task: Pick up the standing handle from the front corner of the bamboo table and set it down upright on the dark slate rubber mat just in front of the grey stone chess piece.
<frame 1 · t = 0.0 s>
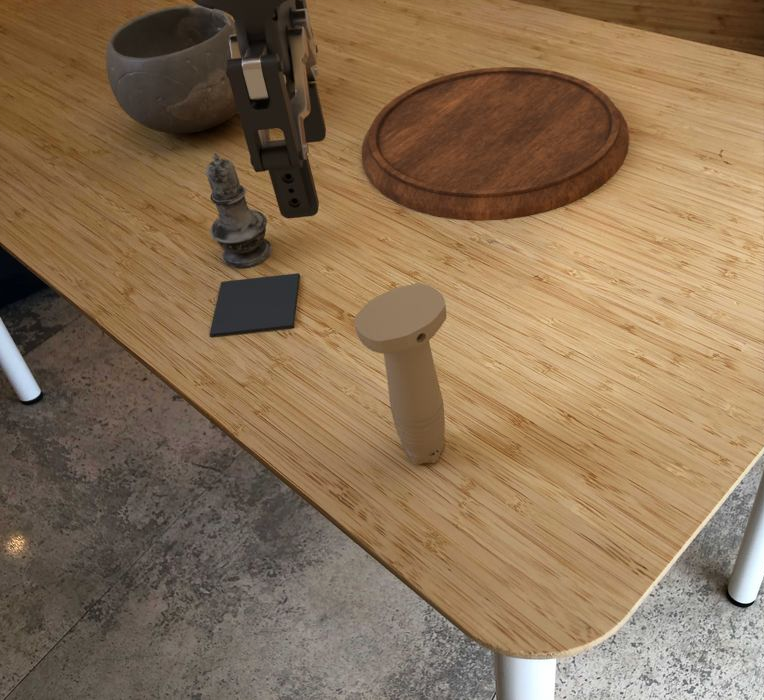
hand: (306, 174, 52), 25 cm above the table, tool pointing down, fingers open, 8 cm apart
bowl: (200, 122, 113), on the table
handle: (425, 453, 68), on the table
grey stone chess piece: (247, 254, 90), on the table
cutting board: (494, 144, 102), on the table
place mat: (256, 305, 84), on the table
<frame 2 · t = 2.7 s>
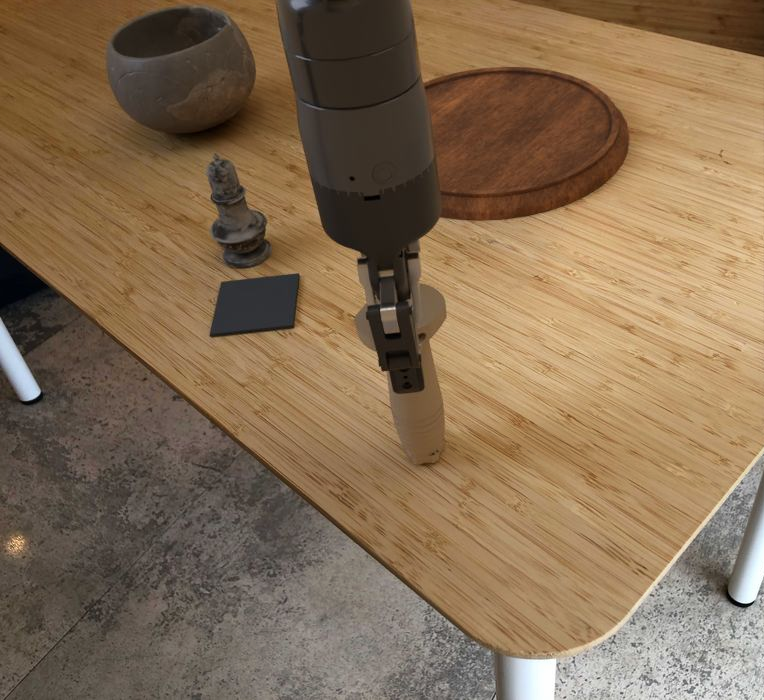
hand: (408, 358, 61), 11 cm above the table, tool pointing down, fingers closed on handle, 5 cm apart
handle: (425, 453, 68), on the table, touching gripper
everything else where it was.
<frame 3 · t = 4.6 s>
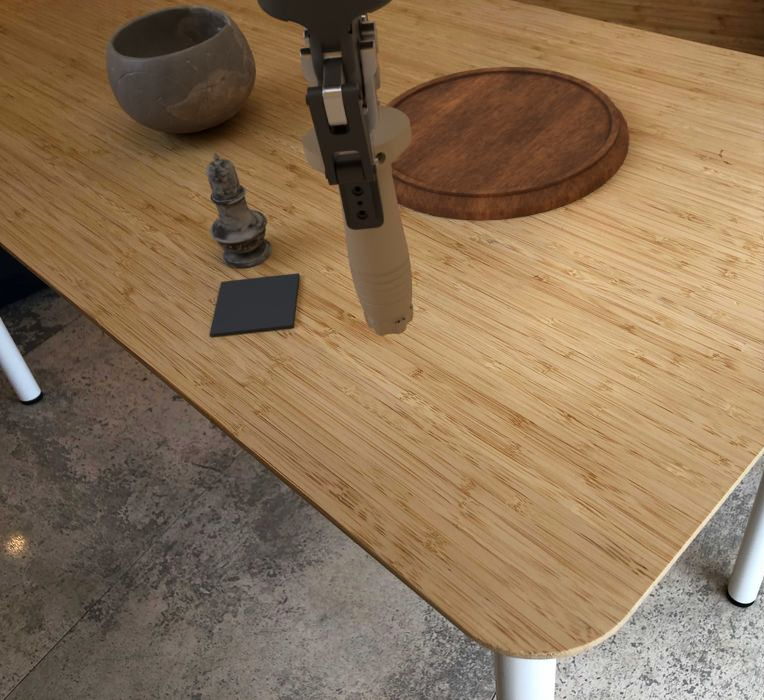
hand: (367, 195, 52), 24 cm above the table, tool pointing down, fingers closed on handle, 5 cm apart
handle: (391, 325, 60), point 13 cm above the table, touching gripper
everything else where it was.
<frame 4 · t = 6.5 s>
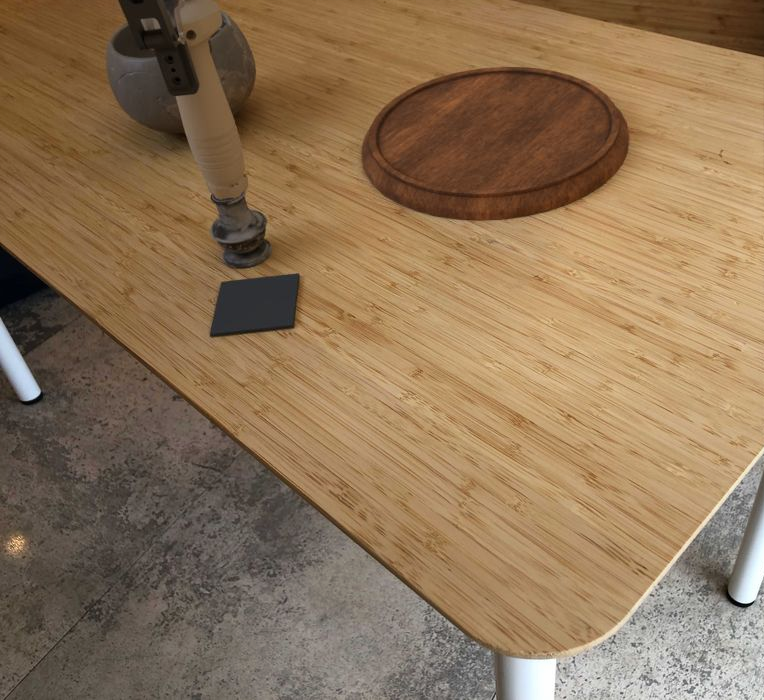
hand: (192, 73, 65), 25 cm above the table, tool pointing down, fingers closed on handle, 5 cm apart
handle: (231, 193, 72), point 14 cm above the table, touching gripper
everything else where it was.
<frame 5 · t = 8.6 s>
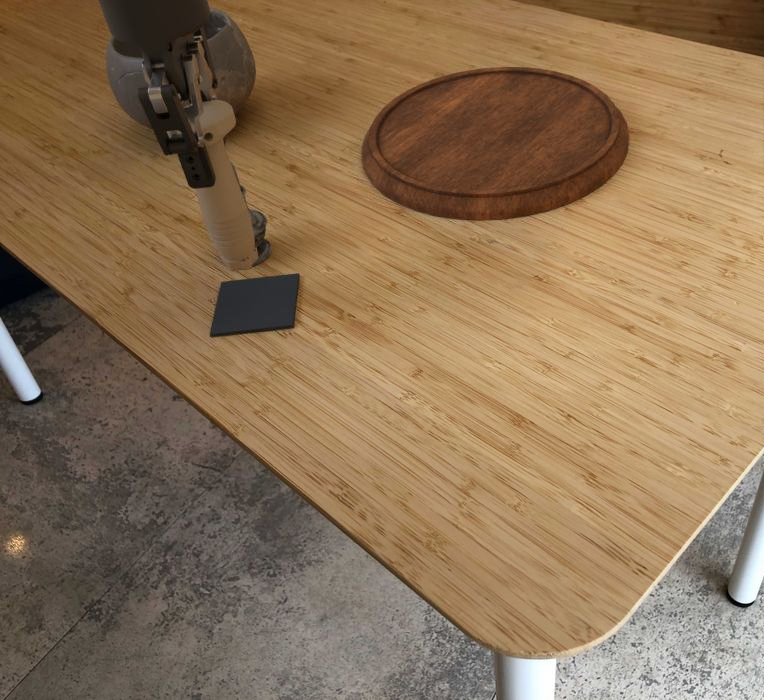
hand: (209, 165, 73), 16 cm above the table, tool pointing down, fingers closed on handle, 5 cm apart
handle: (242, 264, 80), point 5 cm above the table, touching gripper
everything else where it was.
when the fingers open (11 cm above the table, at t = 10.3 s): handle stays where it is, resting on place mat.
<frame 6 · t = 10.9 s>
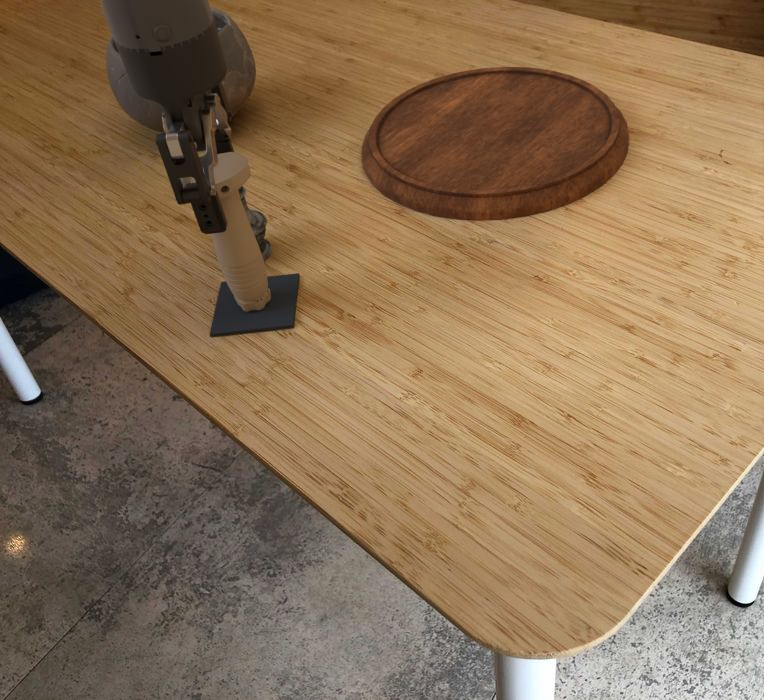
hand: (222, 203, 75), 12 cm above the table, tool pointing down, fingers open, 8 cm apart
handle: (255, 304, 83), resting on place mat
everything else where it was.
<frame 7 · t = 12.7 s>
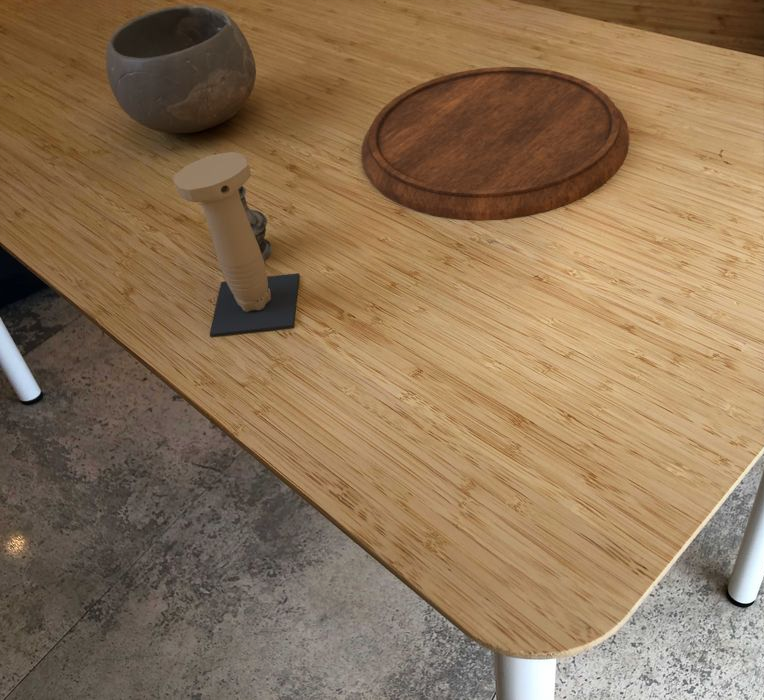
nothing on the table moved.
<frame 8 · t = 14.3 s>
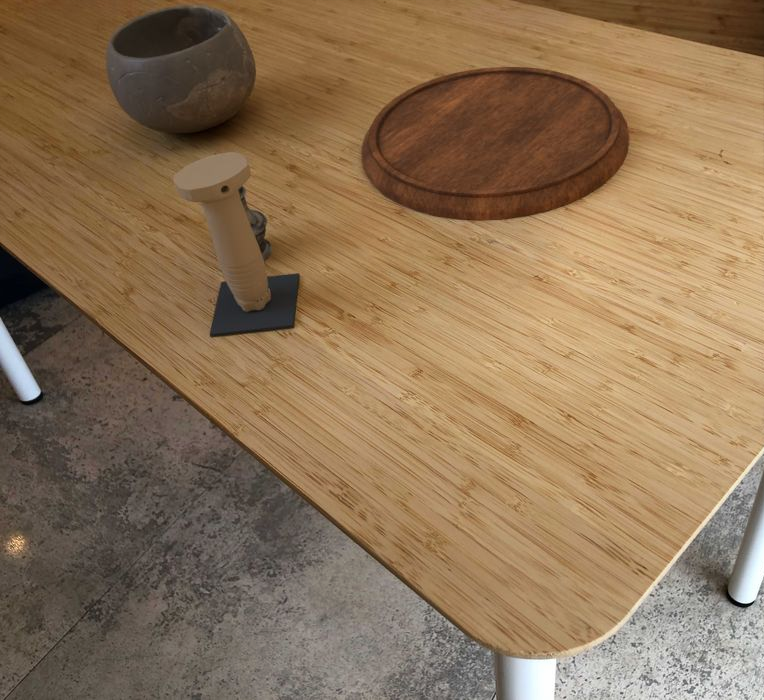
nothing on the table moved.
at the end: handle inside the target area on the table beside the grey stone chess piece (0.1 cm from its centre), resting on place mat; handle tilted 0°; the gripper is holding nothing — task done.
